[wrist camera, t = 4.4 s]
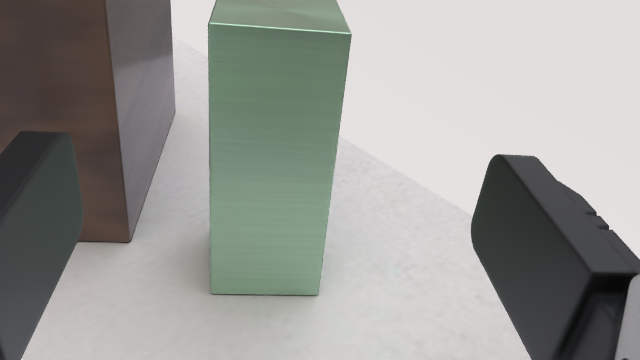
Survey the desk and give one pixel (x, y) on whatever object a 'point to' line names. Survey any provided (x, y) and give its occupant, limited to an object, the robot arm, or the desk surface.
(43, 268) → the robot arm
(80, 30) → the stand
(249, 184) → the pen tin
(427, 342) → the desk surface
